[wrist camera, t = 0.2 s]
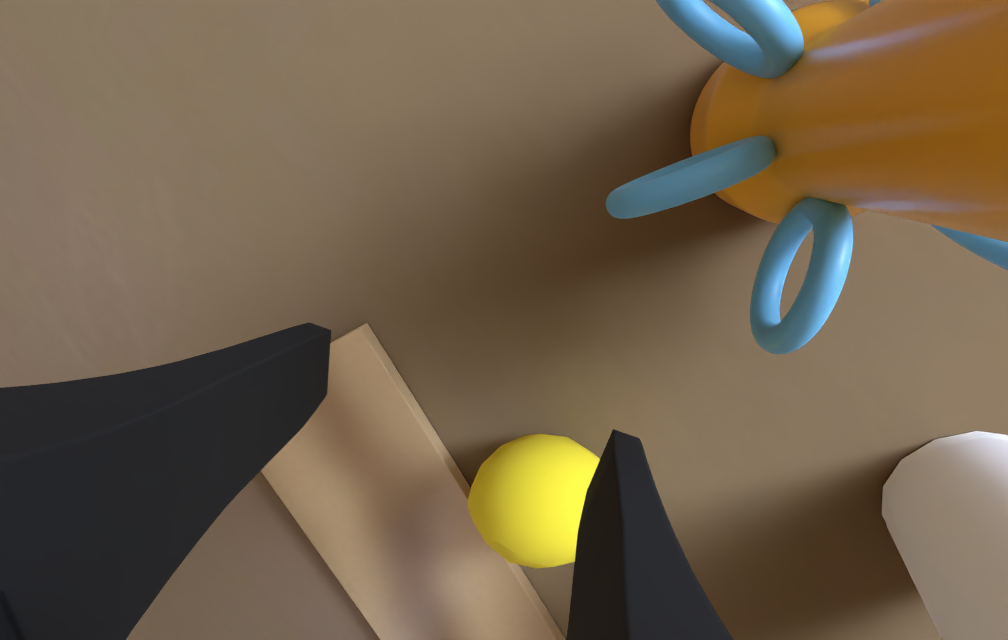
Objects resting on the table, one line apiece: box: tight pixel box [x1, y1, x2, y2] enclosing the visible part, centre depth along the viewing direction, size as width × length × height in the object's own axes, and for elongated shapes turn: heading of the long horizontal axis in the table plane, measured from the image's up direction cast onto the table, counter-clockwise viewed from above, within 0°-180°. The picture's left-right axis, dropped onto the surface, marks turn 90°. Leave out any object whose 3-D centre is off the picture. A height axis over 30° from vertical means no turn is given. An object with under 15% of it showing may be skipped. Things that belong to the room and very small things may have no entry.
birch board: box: [261, 323, 566, 640], centre depth 27 cm, size 10×20×1 cm, turn 30°
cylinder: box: [606, 0, 1008, 354], centre depth 11 cm, size 12×10×15 cm
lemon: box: [467, 434, 600, 568], centre depth 22 cm, size 7×5×5 cm
